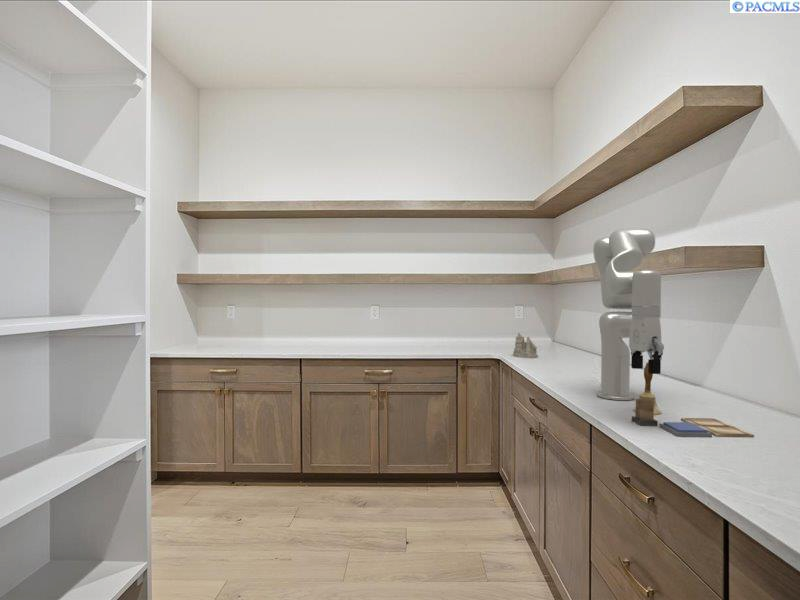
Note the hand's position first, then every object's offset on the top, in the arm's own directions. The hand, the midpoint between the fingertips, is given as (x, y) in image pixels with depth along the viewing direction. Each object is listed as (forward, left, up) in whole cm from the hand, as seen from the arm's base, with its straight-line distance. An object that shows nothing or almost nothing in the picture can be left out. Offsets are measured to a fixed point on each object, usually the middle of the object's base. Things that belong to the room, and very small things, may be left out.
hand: (645, 370), depth 135 cm
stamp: (0, 0, -16) cm, 16 cm away
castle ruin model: (-146, +3, -16) cm, 147 cm away
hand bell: (-14, +8, -16) cm, 23 cm away
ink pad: (+8, +7, -16) cm, 19 cm away
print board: (+4, +18, -16) cm, 24 cm away
